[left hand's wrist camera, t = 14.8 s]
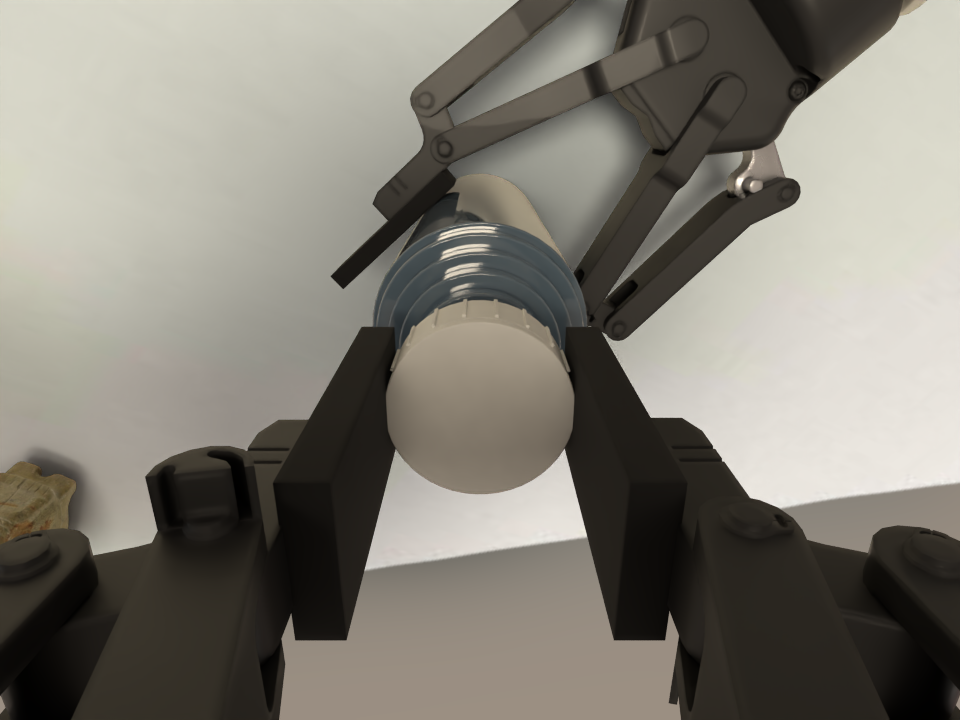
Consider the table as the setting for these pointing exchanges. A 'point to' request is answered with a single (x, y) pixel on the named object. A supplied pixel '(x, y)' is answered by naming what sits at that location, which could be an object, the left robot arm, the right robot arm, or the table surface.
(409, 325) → the bottle
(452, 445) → the cap
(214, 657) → the left robot arm
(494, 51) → the right robot arm
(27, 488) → the sculpture
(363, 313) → the table surface
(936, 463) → the table surface
